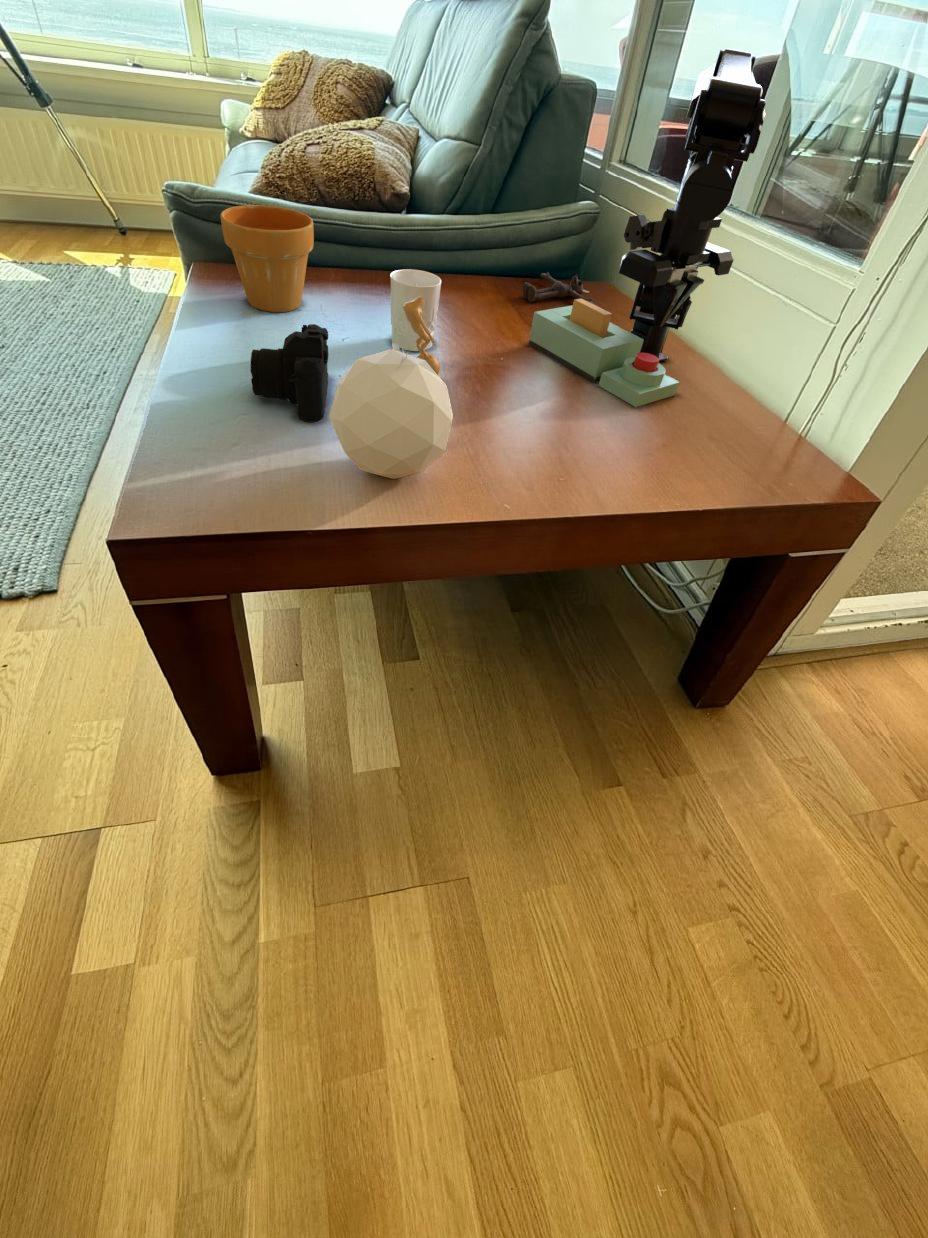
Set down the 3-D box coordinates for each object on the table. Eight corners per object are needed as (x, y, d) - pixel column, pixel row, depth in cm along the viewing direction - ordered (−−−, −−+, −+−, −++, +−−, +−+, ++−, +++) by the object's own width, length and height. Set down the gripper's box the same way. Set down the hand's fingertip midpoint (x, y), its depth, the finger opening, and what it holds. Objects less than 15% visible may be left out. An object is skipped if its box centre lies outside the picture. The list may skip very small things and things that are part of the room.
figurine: (449, 391, 93) (458, 306, 85) (412, 395, 91) (418, 308, 82) (425, 367, 98) (431, 284, 90) (389, 370, 96) (392, 286, 87)
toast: (570, 343, 110) (581, 297, 104) (599, 359, 106) (612, 313, 101) (563, 345, 109) (573, 299, 103) (592, 361, 105) (604, 314, 100)
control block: (638, 374, 106) (645, 350, 103) (675, 395, 102) (684, 370, 99) (598, 385, 101) (605, 360, 98) (635, 407, 97) (643, 382, 94)
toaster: (568, 336, 115) (575, 304, 111) (633, 372, 107) (644, 339, 103) (528, 344, 110) (534, 311, 106) (593, 382, 102) (603, 348, 98)
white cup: (429, 356, 101) (435, 290, 94) (382, 347, 102) (384, 280, 95) (440, 339, 107) (446, 275, 100) (395, 330, 107) (398, 265, 100)
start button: (642, 361, 101) (646, 350, 100) (660, 371, 99) (663, 360, 98) (628, 365, 99) (631, 354, 98) (645, 375, 97) (649, 363, 96)
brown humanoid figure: (503, 268, 129) (561, 258, 134) (501, 290, 132) (558, 279, 137) (554, 300, 118) (614, 288, 123) (551, 323, 122) (610, 310, 127)
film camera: (264, 369, 91) (257, 304, 85) (332, 375, 93) (331, 311, 86) (249, 421, 81) (239, 351, 74) (326, 426, 82) (323, 357, 76)
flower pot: (308, 323, 105) (304, 235, 96) (221, 312, 104) (208, 222, 95) (323, 294, 115) (320, 212, 106) (243, 284, 114) (234, 199, 105)
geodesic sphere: (322, 378, 78) (324, 309, 64) (434, 380, 82) (459, 314, 68) (332, 495, 77) (336, 450, 63) (446, 492, 80) (474, 448, 66)
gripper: (691, 186, 92) (655, 299, 103) (606, 190, 83) (577, 314, 94) (755, 208, 87) (710, 324, 98) (672, 214, 77) (633, 343, 88)
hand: (657, 325), depth 95 cm, fingers closed
